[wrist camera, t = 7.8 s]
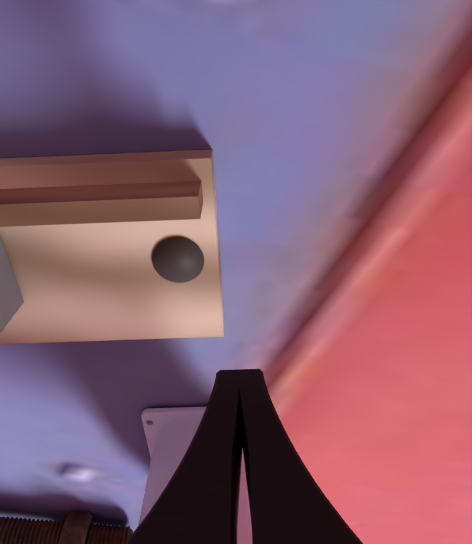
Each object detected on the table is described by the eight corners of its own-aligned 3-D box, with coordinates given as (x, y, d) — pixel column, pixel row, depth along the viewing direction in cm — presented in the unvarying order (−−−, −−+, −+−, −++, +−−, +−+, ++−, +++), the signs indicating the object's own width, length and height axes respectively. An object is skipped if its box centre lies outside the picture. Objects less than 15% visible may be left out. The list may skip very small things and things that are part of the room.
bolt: (138, 506, 38) (-39, 494, 36) (136, 507, 33) (-64, 493, 32) (125, 586, 35) (-67, 577, 33) (122, 598, 31) (-100, 589, 29)
